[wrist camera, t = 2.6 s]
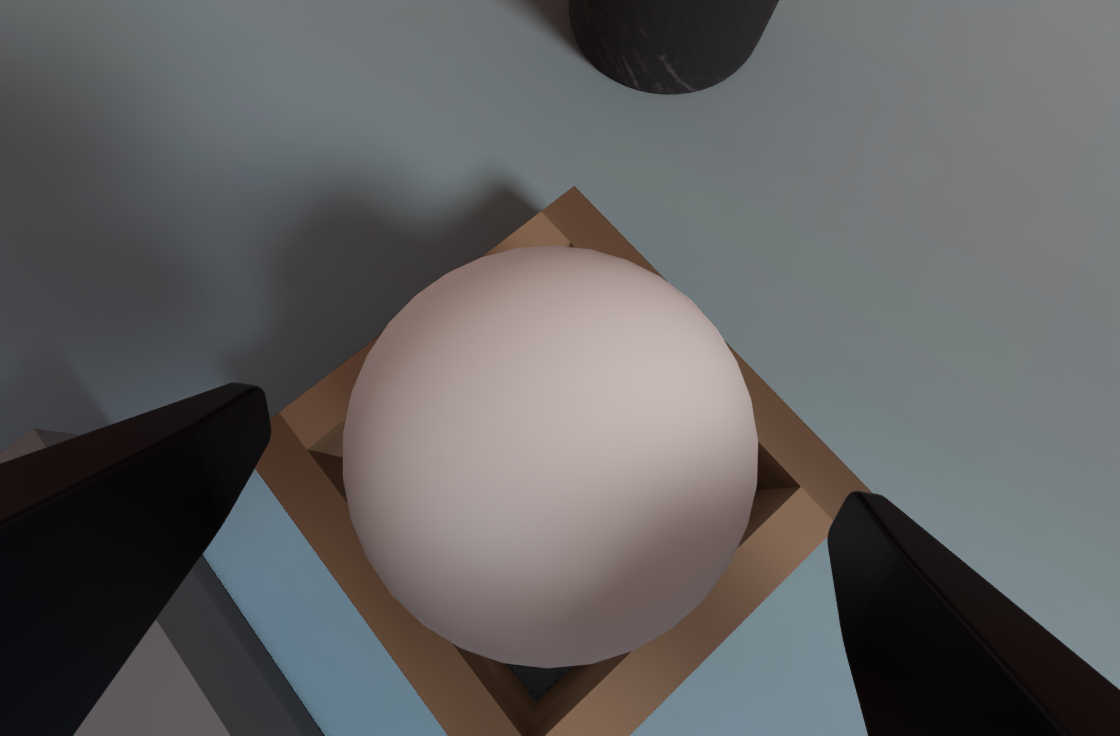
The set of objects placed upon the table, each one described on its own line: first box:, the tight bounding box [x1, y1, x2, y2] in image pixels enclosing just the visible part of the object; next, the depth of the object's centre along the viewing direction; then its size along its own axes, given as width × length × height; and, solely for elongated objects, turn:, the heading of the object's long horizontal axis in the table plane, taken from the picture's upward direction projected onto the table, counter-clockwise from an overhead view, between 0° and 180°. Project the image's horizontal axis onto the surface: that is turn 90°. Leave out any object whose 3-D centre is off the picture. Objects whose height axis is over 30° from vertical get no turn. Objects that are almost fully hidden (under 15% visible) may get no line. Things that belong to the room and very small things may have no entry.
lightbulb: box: [343, 245, 758, 668], centre depth 11 cm, size 6×6×11 cm
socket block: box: [255, 186, 871, 736], centre depth 15 cm, size 11×11×3 cm
